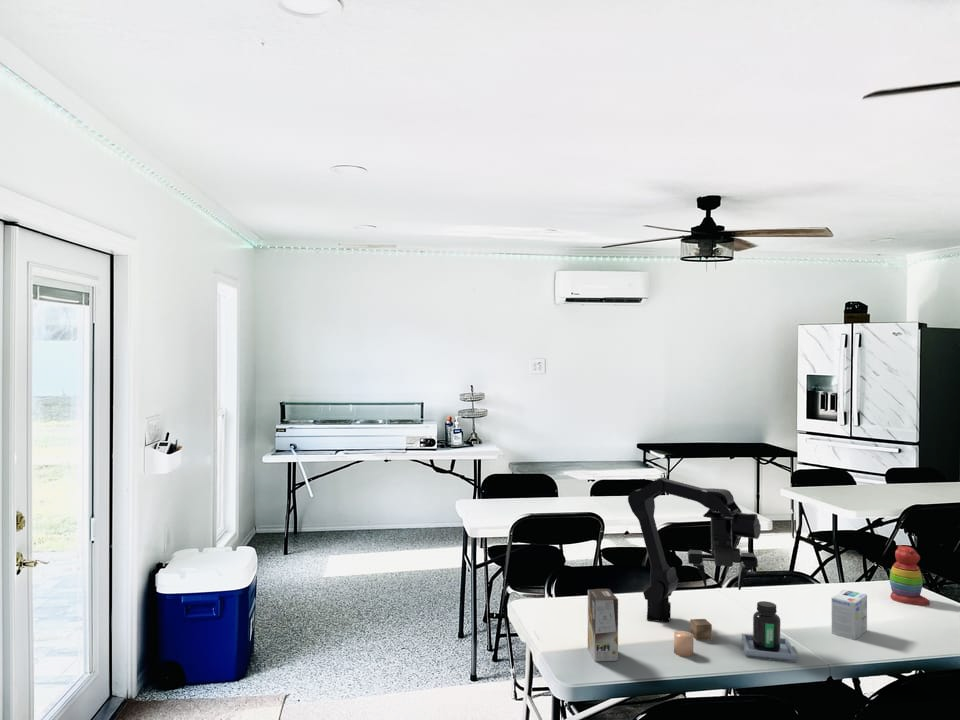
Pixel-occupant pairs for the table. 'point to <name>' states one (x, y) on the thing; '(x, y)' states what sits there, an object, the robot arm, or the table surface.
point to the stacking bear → (907, 577)
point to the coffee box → (603, 625)
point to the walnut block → (701, 629)
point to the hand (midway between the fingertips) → (722, 588)
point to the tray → (783, 655)
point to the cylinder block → (683, 643)
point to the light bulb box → (849, 614)
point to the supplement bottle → (766, 627)
